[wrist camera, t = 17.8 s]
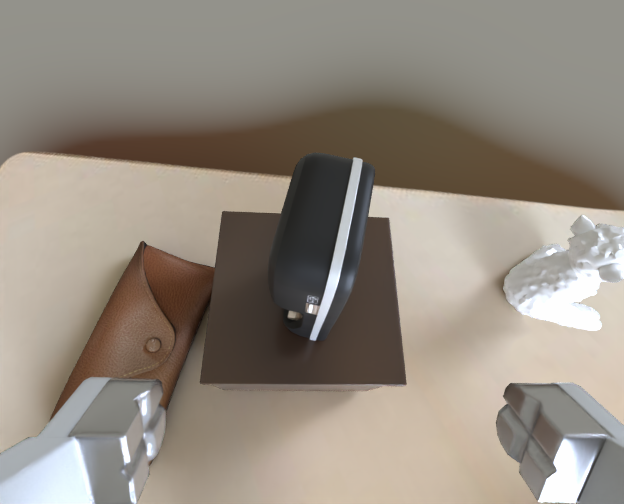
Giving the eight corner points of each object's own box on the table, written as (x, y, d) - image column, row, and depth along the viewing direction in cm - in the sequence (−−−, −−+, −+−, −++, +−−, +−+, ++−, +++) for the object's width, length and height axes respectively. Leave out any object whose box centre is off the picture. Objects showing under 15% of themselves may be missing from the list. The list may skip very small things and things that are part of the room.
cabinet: (363, 260, 37) (388, 209, 28) (371, 394, 31) (407, 385, 22) (238, 256, 36) (223, 203, 27) (224, 393, 30) (199, 383, 21)
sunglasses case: (153, 474, 27) (71, 474, 22) (101, 451, 31) (19, 447, 25) (227, 266, 35) (178, 231, 30) (178, 267, 38) (127, 235, 33)
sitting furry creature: (593, 331, 35) (730, 294, 24) (517, 347, 34) (626, 315, 23) (549, 248, 39) (651, 183, 28) (479, 259, 38) (558, 197, 27)
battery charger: (293, 241, 26) (298, 127, 16) (343, 253, 26) (381, 145, 16) (268, 333, 23) (254, 266, 13) (324, 346, 23) (356, 290, 13)
